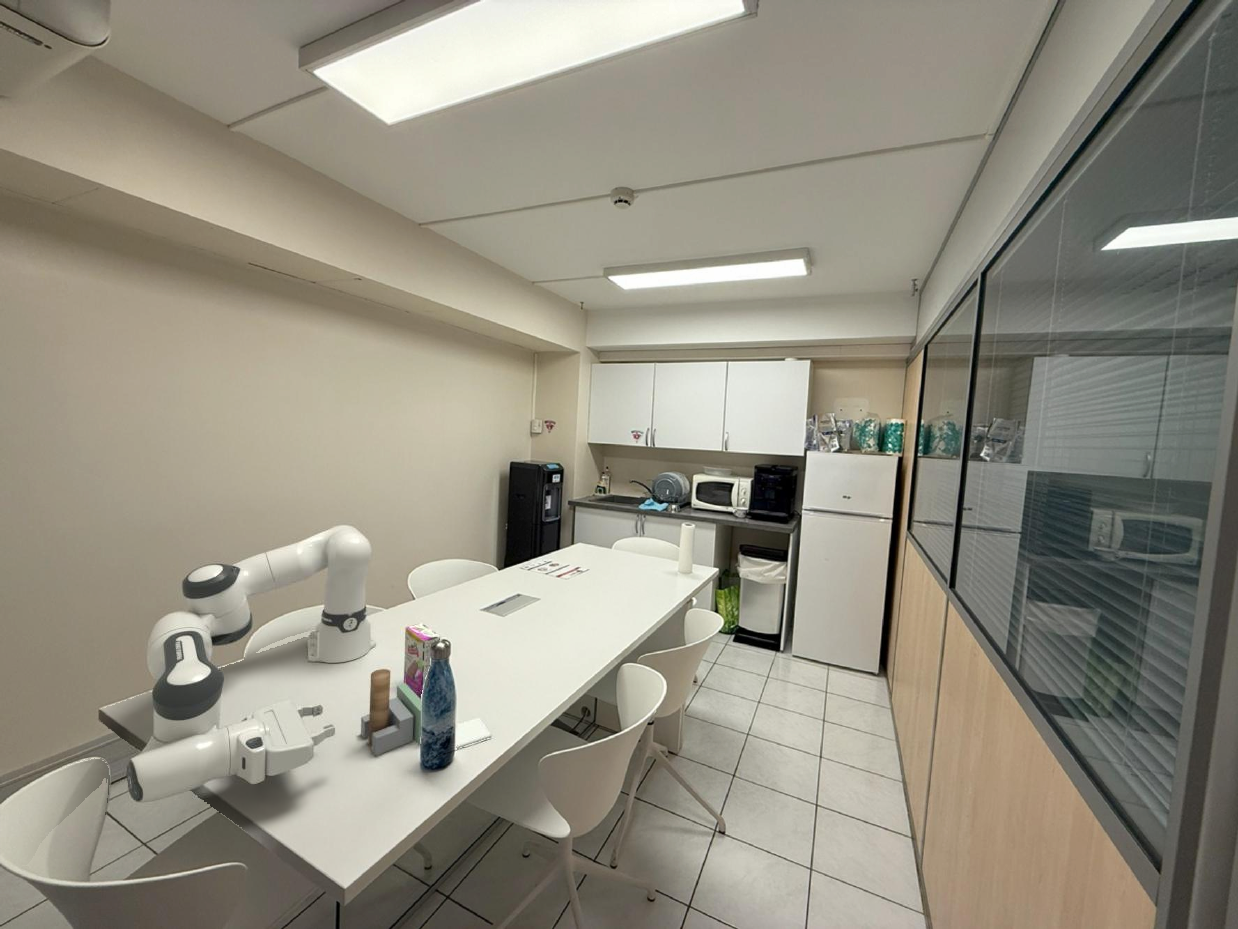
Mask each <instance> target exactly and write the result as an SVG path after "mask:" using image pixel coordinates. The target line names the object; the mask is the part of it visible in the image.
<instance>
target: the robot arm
mask: <svg viewBox="0 0 1238 929" xmlns="http://www.w3.org/2000/svg"><path fill="white" fill-rule="evenodd" d="M371 545H372V544H371V543H370V541H369V539H368V538H367V537H366V536H364V534H363V533H361V532H360V531H359V530H358V529H357V528H355V527H354V526H351V525H347V524H340V525H335V526H332V527H331V528H329V529H327V530H324V531H322V532H320V533H317V534H314V535H312V536H310V537H307V538H306V539H303V540H300V541H297V542H295V543H292V544H288V545H285V546H282V547H278V548H276V549H271V550H269V551H266V552H262V553H258V554H255V555H253V556H250V557H248V558H244V559H243V560H241V561H239V562H236V563H234V564H232V565H230V564H225V563H211V564H210V563H209V564H206V565H203V566H200V567H198V568H196V569H194V570H192V571H190V572H189V573H188V574H187V575H186V577H184V578H183V580H182V583H181V586H182V587H181V588H182V595H183V597H185V600H186V604H187V607H188V610H179V611H174V612H171V613H168V614H166V615H165V616H163V617H162V618H160V619H159V620H158V621H157V622H156V623H155V625H154V626H153V628H152V630H151V633H150V636H149V638H148V642H147V648H146V649H147V650H146V651H147V652H146V662H147V667H148V670H149V672H150V674H151V677H152V678H153V679H154V680H155V681H156V683H155V684H154V686H153V688H152V691H151V692H152V693H151V698H152V706H153V734H152V735H151V737H150V739H149V741H148V743H147V744H146V746H145V747H144V748H143V749H142V751H141V752H139V754H137V755H135V756H134V757H132V758H130V759H129V761H128V763H127V766H126V781H127V789H128V792H129V795H130V798H132V799H133V801H135V802H136V803H148V802H149V803H150V802H154V801H155V802H156V801H159V800H164V799H168V798H171V797H174V796H177V795H180V794H182V793H185V792H189V791H192V790H194V789H198V788H199V787H202V785H204V784H207V783H208V782H211V781H214V780H217V779H225V778H228V777H232V776H235V775H236V776H237V777H239V778H241V779H244V781H246V782H248V783H249V784H250V785H255V784H260V783H261V782H263V781H264V780H265V779H266V776H269V777H270V776H271V777H273V776H277V775H281V774H285V773H286V772H289V771H292V770H294V769H297V768H299V767H301V766H302V767H303V766H304V765H306V764H309V762H310V761H311V760H312V759H313V758H314V753H315V752H314V751H315V750H314V748H315V747H316V746H318V745H320V744H321V743H322V742H323V741H325V740H326V739H328V738H330V737H333V736H335V734H336V728H335V726H334V724H329V725H325V726H323V729H322V730H320V731H318V732H317V733H316V732H315V731H314V732H312V733H310V732H309V730H308V728H307V726H306V724H305V722H304V720H303V717H309V716H310V717H311V716H312V717H313V718H315V717H317V716H321V715H322V714H323V712H324V711H323V710H324V707H323V705H322V704H320V703H317V704H314V705H300V706H296V705H295V703H294V700H292V699H285V700H284V699H283V700H281V701H278V702H274V703H271V704H268V705H266V706H263V707H260V708H258V709H256V710H254V712H252V713H251V714H249V715H247V716H246V717H244V718H243V719H242V720H241V721H238V722H236V723H233V724H228V725H225V726H223V727H220V724H221V723H220V720H221V705H222V692H223V685H224V681H225V676H224V674H223V672H222V671H221V669H219V668H218V667H217V666H216V665H214V664H213V663H212V662H211V660H212V654H213V646H214V647H216V646H217V647H219V646H220V647H221V646H227V645H230V644H233V643H236V642H237V641H239V640H241V639H243V638H244V637H246V635H247V634H248V633H249V632H250V631H251V630H252V628H253V622H254V621H253V614H252V612H251V611H250V606H249V601H248V598H249V597H255V596H258V595H263V594H268V593H270V592H273V591H276V590H279V589H282V588H285V587H288V586H290V585H293V584H297V583H299V582H303V581H306V580H308V579H311V577H314V575H316V574H318V573H320V572H322V571H324V570H325V569H327V573H326V579H325V583H324V595H323V596H324V598H323V599H324V601H323V610H322V613H321V619H320V622H318V624H317V625H316V626H315V630H313V631H310V632H309V636H310V637H309V639H308V640H307V644H306V645H307V646H306V647H307V661H308V662H322V663H327V664H328V663H329V664H330V663H331V664H334V663H345V662H350V661H353V660H356V659H359V658H361V657H363V656H365V655H366V654H368V652H369V651H370V650H371V649H372V648H374V647H375V646H376V645H377V641H375V640H373V638H372V625H371V624H372V623H371V621H370V620H369V619H367V613H368V612H367V610H368V608H367V606H366V589H367V588H366V585H367V578H368V573H369V567H370V561H371V557H372V546H371Z"/></svg>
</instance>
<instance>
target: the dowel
mask: <svg viewBox="0 0 1238 929" xmlns="http://www.w3.org/2000/svg"><path fill="white" fill-rule="evenodd" d="M369 688H370V693H369V714H370V715H369V714H368V715H369V737H368V746H371V747H372V733H374V732H377V731H379V730H382V729H385V728H388V724H389V700H390V697H391V696H390V691H391V670H390V669H387V668H381V669H380V668H379V669H376V670H374V671H373V672H371V674H370V687H369Z"/></svg>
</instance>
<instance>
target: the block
mask: <svg viewBox="0 0 1238 929" xmlns="http://www.w3.org/2000/svg"><path fill="white" fill-rule="evenodd" d="M369 715H370V713H369V714H366V715H363V716H361V717H360V722H361V724H360V734H361V736H362V738H363V739H367V738H369ZM413 741H414V738H413V715H412V714H411V713H410V712H409V710H408V709H407V708H406V707H405V706H404V705H403V704H402V702H401V701H400V700H399V699H398V698H397V696H396V697H394V698H389V724H388V728H385V729H382V730H379V731H377V732H374V733H372V746H371V751H372V753H373V755H374V756H375V757H376V756H378V755H381V754H384V753H386V752H389V751H391V750H394V749H397V748H399V747H401V746H404V745H407V744H409V743H412V742H413Z"/></svg>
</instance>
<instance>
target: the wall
mask: <svg viewBox="0 0 1238 929" xmlns="http://www.w3.org/2000/svg"><path fill="white" fill-rule="evenodd" d="M396 697H397V698H398V699H399V700H400V701H401V702H402V704H403V705H404V706H405V707H406V708H407V709H408V710H409V712H410V713H411V714H412V715H413V741H414V742H416V743H417V745H418V746H419V745H421V744H420V737H421V701H423V699H421V698H420V697H419V696H418V695H417V694H416V693H415V692H414V691H413V690H411V689H410V687H409V686H408V685H407V684H406V683H404V682H403V683H401V684H398V685H397V686H396Z"/></svg>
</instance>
